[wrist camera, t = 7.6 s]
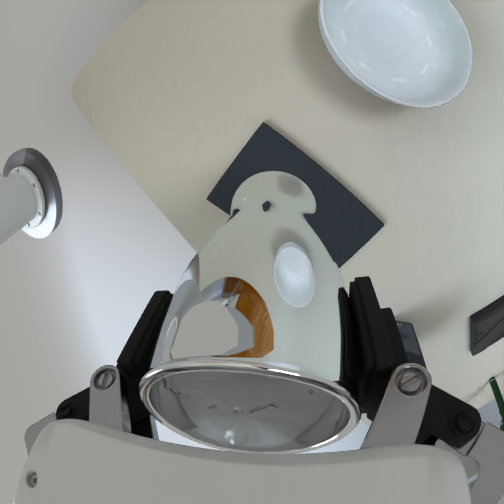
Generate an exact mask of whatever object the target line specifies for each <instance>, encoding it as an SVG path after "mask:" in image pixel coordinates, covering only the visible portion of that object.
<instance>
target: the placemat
mask: <svg viewBox="0 0 504 504" xmlns="http://www.w3.org/2000/svg"><path fill="white" fill-rule="evenodd" d="M266 171H281V172H285V173H289V174H291V175H293V176H295V177H297V178H299V179H300V180H302V181H303V182H304V183H305V184H306V185H307V186H308V187H309V189H310V190H311V191H312V193H313V195H314V197H315V200H316V203H317V209H318V217H317V223H316V229H317V231H318V232H319V234H320V235H321V237H322V238H323V240H324V242H325V243H326V245H327V247H328V248H329V250H330V252H331V254H332V255H333V257H334V259H335V262H336V264H337V266H338V268H340V267H341V266H342V265H343V264H344V263H345V262H346V261H348V260H349V259H350V258H351V257H352V256H353V255H354V254H355V253H356V252H357V251H358V250H359V249H360V248H361V247H363V246H364V245H365V244H366V243H367V242H368V241H369V240H370V239H371V238H372V237H373V236H374V235H375V234H376V233H377V232H378V231H379V230H380V229H381V228H382V227H383V226H384V224H383V223H382V222H381V221H380V220H379V219H378V218H377V217H376V216H375V215H374V214H373V213H372V212H371V211H370V210H369V209H368V208H367V207H366V206H365V205H364V204H363V203H361V202H360V201H359V200H358V199H357V198H356V197H355V196H354V195H353V194H352V193H351V192H349V191H348V190H347V189H346V188H345V187H344V186H343V185H342V184H341V183H339V182H338V181H337V180H336V179H335V178H334V177H332V176H331V175H330V174H329V173H328V172H327V171H325V170H324V169H323V168H322V167H321V166H319V165H318V164H317V163H316V162H315V161H313V160H312V159H311V158H310V157H309V156H307V155H306V154H305V153H304V152H302V151H301V150H300V149H298V148H297V147H296V146H295V145H293V144H292V143H291V142H289V141H288V140H287V139H286V138H284V137H283V136H282V135H280V134H279V133H278V132H276V131H275V130H274V129H272V128H271V127H269V126H268V125H267V124H265V123H264V122H263V123H262V125H261V126H260V127H259V128H258V130H257V131H256V132H255V133H254V135H253V136H252V137H251V139H250V140H249V141H248V143H247V144H246V145H245V147H244V148H243V149H242V151H241V152H240V153H239V155H238V156H237V157H236V159H235V160H234V161H233V163H232V164H231V165H230V167H229V168H228V169H227V171H226V172H225V174H224V175H223V176H222V178H221V179H220V180H219V182H218V183H217V185H216V186H215V188H214V189H213V190H212V192H211V193H210V195H209V196H208V198H207V200H208V201H210V202H211V203H213V204H214V205H216V206H217V207H219V208H220V209H221V210H223V211H224V212H226V213H227V214H229V215H230V210H231V203H232V199H233V196H234V194H235V192H236V190H237V189H238V188H239V186H240V185H241V184H242V183H243V182H244V181H245V180H247V179H248V178H250V177H251V176H253V175H255V174H258V173H261V172H266Z"/></svg>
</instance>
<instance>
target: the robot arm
mask: <svg viewBox="0 0 504 504" xmlns="http://www.w3.org/2000/svg"><path fill="white" fill-rule="evenodd" d="M45 209H46V205H45V197H44V193H43V189H42V187H41V184H40V182H39V180H38V178H37V177H36V175H35V174H34V173H33V172H32V171H31V170H30V169H29V168H27V167H25V166H18V167H15V168H14V169H12V170H11V171H10V173H9V175H8V177H5V176H1V174H0V245H1V244H3V243H4V242H5V241H6V240H7V239H8V238H10V237H11V236H12V235H14V234H15V233H16V232H17V231H19V230H20V229H21V228H23V227H24V226H26V227H29V228H34V227H37V226H38V225H39V224H41V222H42V221H43V219H44V216H45ZM172 295H173V294H171V293H170V292H169V291H156V292H155V293H154V294H153V296H152V298H151V299H150V301H149V303H148V305H147V307H146V308H145V310H144V312H143V314H142V316H141V318H140V319H139V321H138V323H137V325H136V326H135V328H134V330H133V332H132V334H131V335H130V337H129V339H128V341H127V343H126V345H125V347H124V348H123V350H122V352H121V354H120V356H119V358H118V360H117V363H118V364H117V366H116V367H115V366H113V365H105V366H103V367H100V368H99V369H98V370H96V371H95V372H94V374H93V375H92V377H91V381H90V387H88V388H87V389H85V390H83V391H81V392H79V393H77V394H75V395H73V396H72V397H70V398H68V399H66V400H64V401H63V402H62V403H61V404H60V405H59V406H58V409H57V411H56V413H55V412H53V413H51V414H50V415H48V416H46V417H45V418H43V419H41V420H40V421H38V422H36V423H35V424H33V425H31V426H30V427H29V428H28V429H27V430H26V433H25V443H26V447H27V452H28V458H27V461H26V463H25V466H24V468H23V471H22V474H21V477H20V480H19V483H18V486H17V489H16V493H15V496H14V500H13V504H497V503H498V501H499V499H500V498H501V496H502V495H503V493H504V432H503V431H502V430H500V429H499V428H497V427H496V426H494V425H492V424H491V423H489V422H486V423H484V422H482V421H481V417H480V414H479V412H478V411H477V409H475V408H474V407H473V406H471V405H469V404H467V403H465V402H463V401H462V400H460V399H458V398H456V397H454V396H452V395H450V394H448V393H447V392H445V391H443V390H441V389H439V388H437V387H436V386H434V385H432V379H431V375H430V373H429V372H428V370H427V369H426V368H425V367H423V366H422V365H419V364H417V363H409V361H408V358H407V354H406V351H405V348H404V344H403V341H402V338H401V335H400V332H399V329H398V326H397V323H396V320H395V317H394V315H393V312H392V310H391V308H382V309H380V306H379V303H378V300H377V297H376V294H375V291H374V288H373V285H372V282H371V280H370V277H369V276H367V277H357V278H355V280H354V282H350V289H349V300H350V304H351V308H352V314H353V320H354V326H355V332H356V340H357V351H358V365H359V391H360V405H361V408H362V413H367V418H368V419H370V420H371V421H372V423H371V426H370V428H369V431H368V433H367V435H366V437H365V439H364V441H363V443H362V445H361V447H360V449H358V450H349V451H340V452H339V451H338V452H325V453H306V454H264V453H244V452H232V451H221V450H213V449H212V450H211V449H205V448H198V447H191V446H185V445H180V444H174V443H169V442H164V441H160V440H159V437H158V432H157V427H156V423H155V418H154V417H153V416H152V415H151V414H150V413H149V412H148V411H147V410H146V409H145V407H144V406H143V404H142V402H141V400H140V398H139V394H138V386H139V382H140V380H141V379H142V377H143V374H144V372H145V369H146V366H147V363H148V360H149V357H150V354H151V351H152V348H153V344H154V341H155V338H156V335H157V333H158V330H159V327H160V324H161V322H162V319H163V316H164V314H165V311H166V309H167V307H168V304H169V302H170V300H171V298H172Z"/></svg>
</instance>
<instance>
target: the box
mask: <svg viewBox="0 0 504 504" xmlns="http://www.w3.org/2000/svg"><path fill="white" fill-rule="evenodd" d="M396 323H397V326H398V329H399V332H400V335H401V338H402V341H403V344H404V348H405V351H406V354H407V358H408V361H409V363H417V364H419V365H422V366H423V367H425V368H426V365H425V361H424V358H423V355H422V352H421V349H420V346H419V343H418V340H417V337H416V334H415V331H414V328H413V325H412V324H411V323H407V322H400V321H396ZM426 369H427V368H426Z"/></svg>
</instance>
